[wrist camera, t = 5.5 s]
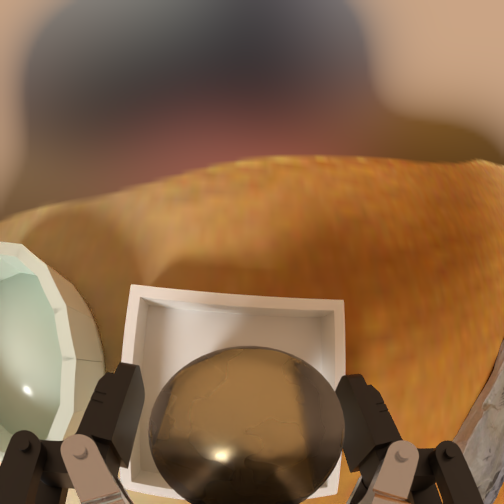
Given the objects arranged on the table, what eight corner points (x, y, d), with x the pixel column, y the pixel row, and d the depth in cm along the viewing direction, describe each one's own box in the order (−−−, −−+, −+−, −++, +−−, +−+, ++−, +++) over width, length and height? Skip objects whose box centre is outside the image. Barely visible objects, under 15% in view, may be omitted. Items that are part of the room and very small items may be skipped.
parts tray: (133, 473, 11) (121, 488, 9) (142, 296, 16) (131, 284, 13) (321, 480, 12) (337, 493, 10) (327, 309, 17) (343, 299, 14)
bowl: (-29, 413, 9) (-61, 413, 6) (-13, 257, 15) (-41, 236, 11) (106, 479, 11) (81, 502, 7) (118, 277, 16) (94, 251, 12)
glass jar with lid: (183, 440, 12) (151, 509, 5) (187, 353, 14) (153, 336, 7) (276, 444, 13) (336, 507, 5) (280, 358, 15) (347, 346, 7)
